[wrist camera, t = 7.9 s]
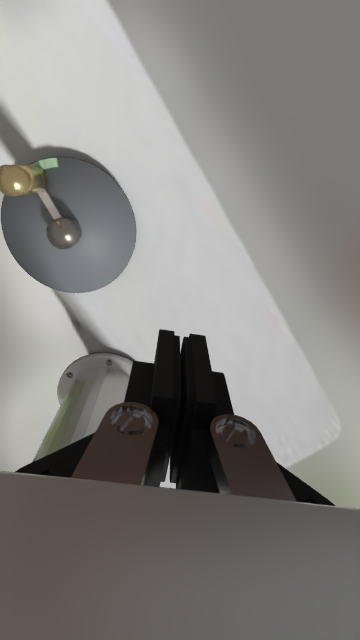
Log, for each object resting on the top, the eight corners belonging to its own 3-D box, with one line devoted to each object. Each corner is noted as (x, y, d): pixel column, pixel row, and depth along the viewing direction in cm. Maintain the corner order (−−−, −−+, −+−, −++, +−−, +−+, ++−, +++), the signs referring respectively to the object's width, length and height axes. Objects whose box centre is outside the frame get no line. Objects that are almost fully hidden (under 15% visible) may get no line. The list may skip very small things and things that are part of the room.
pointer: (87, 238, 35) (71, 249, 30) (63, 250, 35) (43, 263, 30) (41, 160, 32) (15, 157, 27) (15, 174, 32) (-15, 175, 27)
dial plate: (128, 298, 39) (126, 302, 38) (8, 278, 38) (1, 282, 37) (144, 172, 34) (142, 172, 33) (4, 144, 33) (-4, 143, 31)
